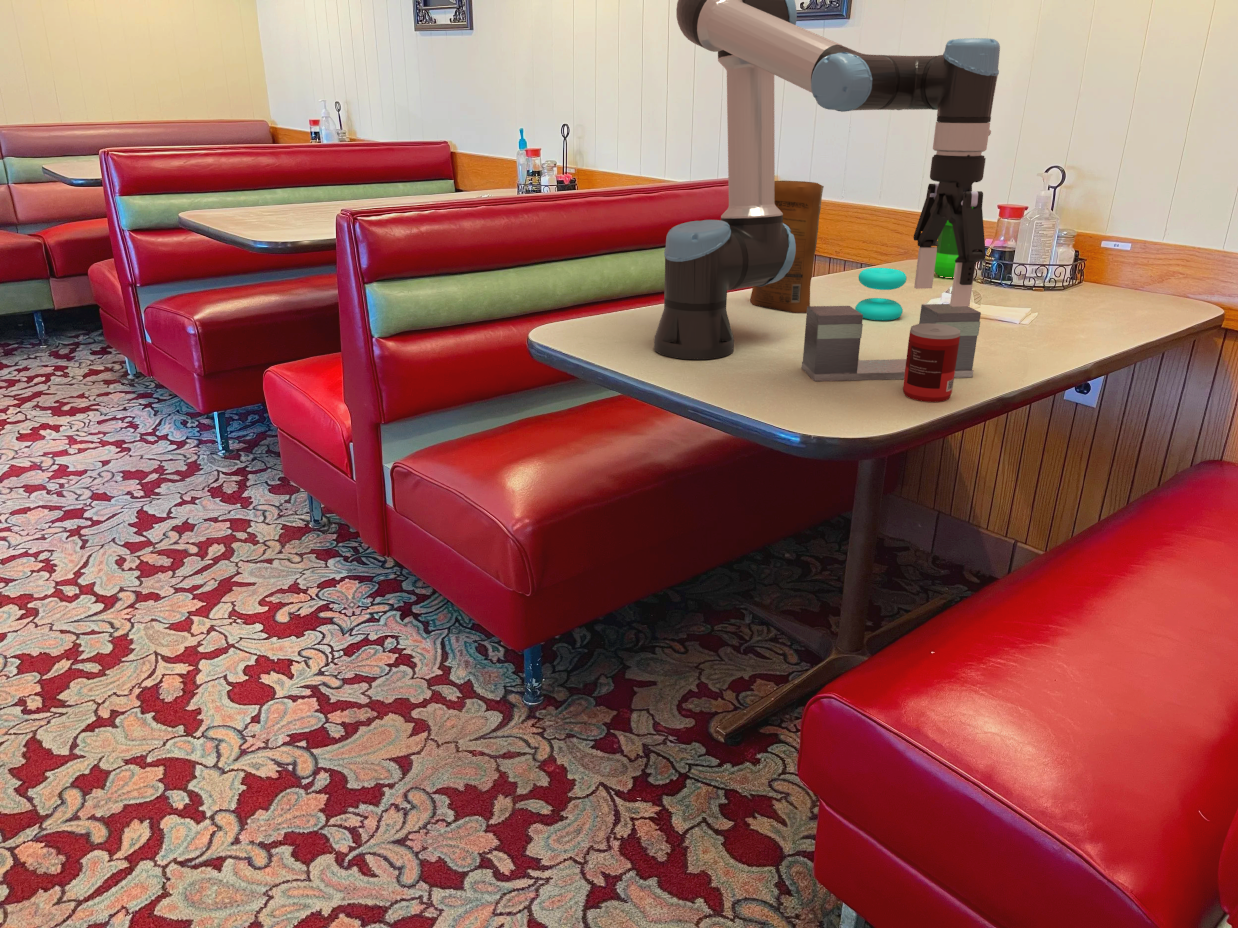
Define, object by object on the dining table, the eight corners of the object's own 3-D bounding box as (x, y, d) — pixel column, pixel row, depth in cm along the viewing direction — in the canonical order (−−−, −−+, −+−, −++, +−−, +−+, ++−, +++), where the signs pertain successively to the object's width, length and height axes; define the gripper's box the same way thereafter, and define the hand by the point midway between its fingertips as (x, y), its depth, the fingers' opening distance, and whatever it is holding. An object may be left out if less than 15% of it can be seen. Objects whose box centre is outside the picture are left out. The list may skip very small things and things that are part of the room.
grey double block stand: (814, 381, 158) (819, 316, 153) (801, 368, 165) (806, 305, 161) (972, 377, 160) (982, 313, 156) (952, 364, 168) (961, 303, 163)
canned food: (940, 387, 155) (950, 323, 150) (958, 402, 147) (968, 335, 143) (895, 388, 154) (903, 323, 150) (911, 403, 147) (919, 335, 143)
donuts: (906, 268, 202) (908, 276, 193) (900, 313, 206) (902, 323, 197) (859, 265, 204) (859, 274, 195) (854, 310, 208) (854, 320, 199)
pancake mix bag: (804, 317, 202) (815, 183, 191) (734, 304, 214) (740, 177, 203) (821, 312, 206) (832, 181, 196) (751, 299, 218) (758, 175, 208)
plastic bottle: (941, 272, 252) (954, 176, 243) (977, 277, 245) (991, 179, 235) (920, 276, 246) (932, 178, 237) (956, 282, 239) (970, 181, 229)
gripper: (1026, 159, 126) (1001, 313, 133) (947, 148, 149) (931, 281, 156) (972, 159, 125) (951, 314, 133) (902, 149, 148) (888, 282, 156)
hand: (940, 297), depth 145 cm, fingers open, 13 cm apart
